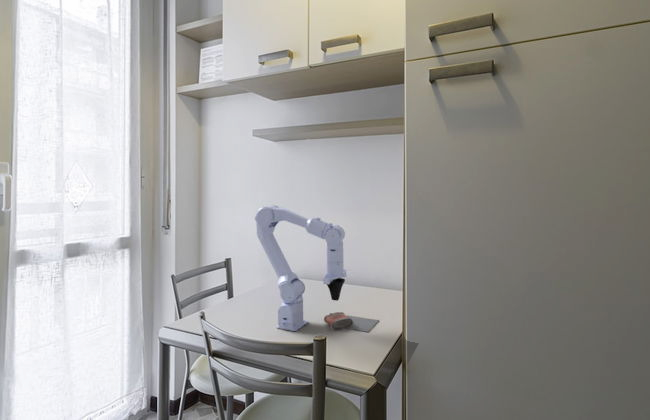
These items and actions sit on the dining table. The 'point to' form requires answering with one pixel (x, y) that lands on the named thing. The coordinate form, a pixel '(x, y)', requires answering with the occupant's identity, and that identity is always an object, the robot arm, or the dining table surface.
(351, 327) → the mat
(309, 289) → the dining table surface
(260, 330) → the dining table surface
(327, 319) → the lighter
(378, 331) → the dining table surface
